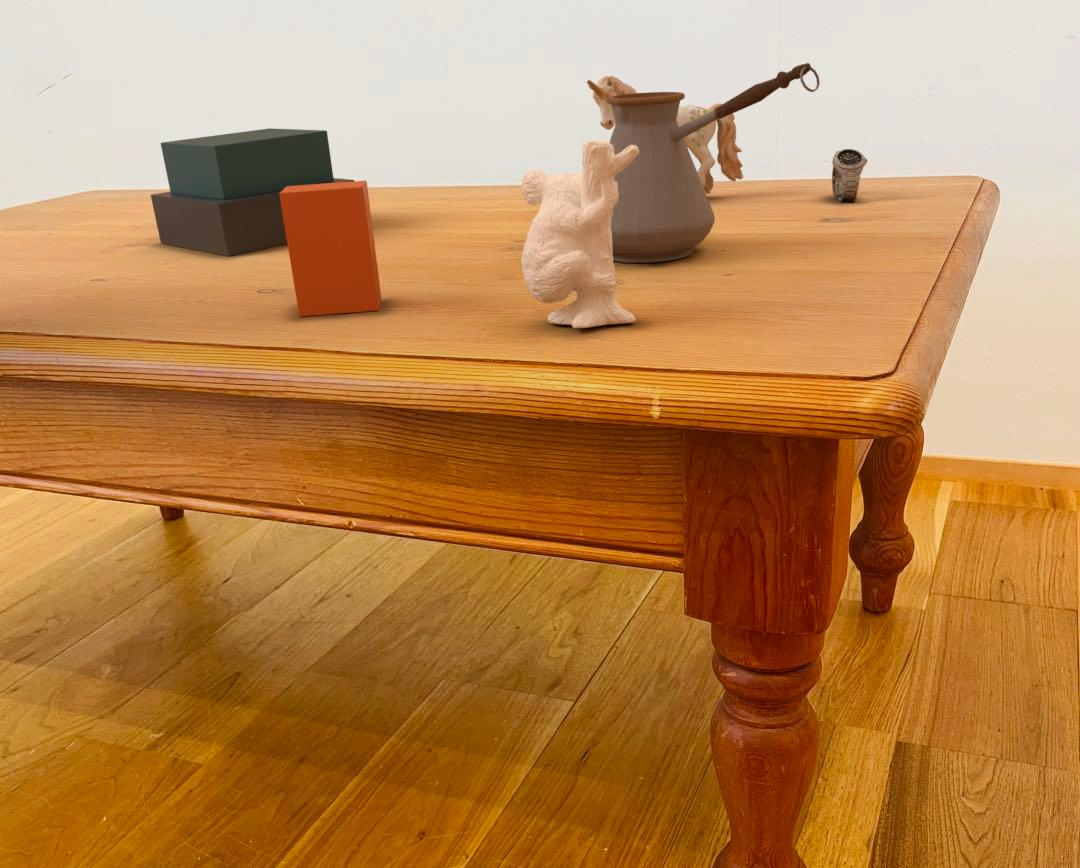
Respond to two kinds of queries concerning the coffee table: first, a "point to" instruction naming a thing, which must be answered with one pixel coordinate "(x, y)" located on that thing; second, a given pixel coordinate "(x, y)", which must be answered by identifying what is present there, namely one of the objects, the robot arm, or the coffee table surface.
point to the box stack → (236, 187)
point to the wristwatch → (847, 174)
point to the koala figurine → (576, 238)
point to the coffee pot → (668, 172)
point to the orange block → (331, 248)
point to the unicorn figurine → (693, 141)
